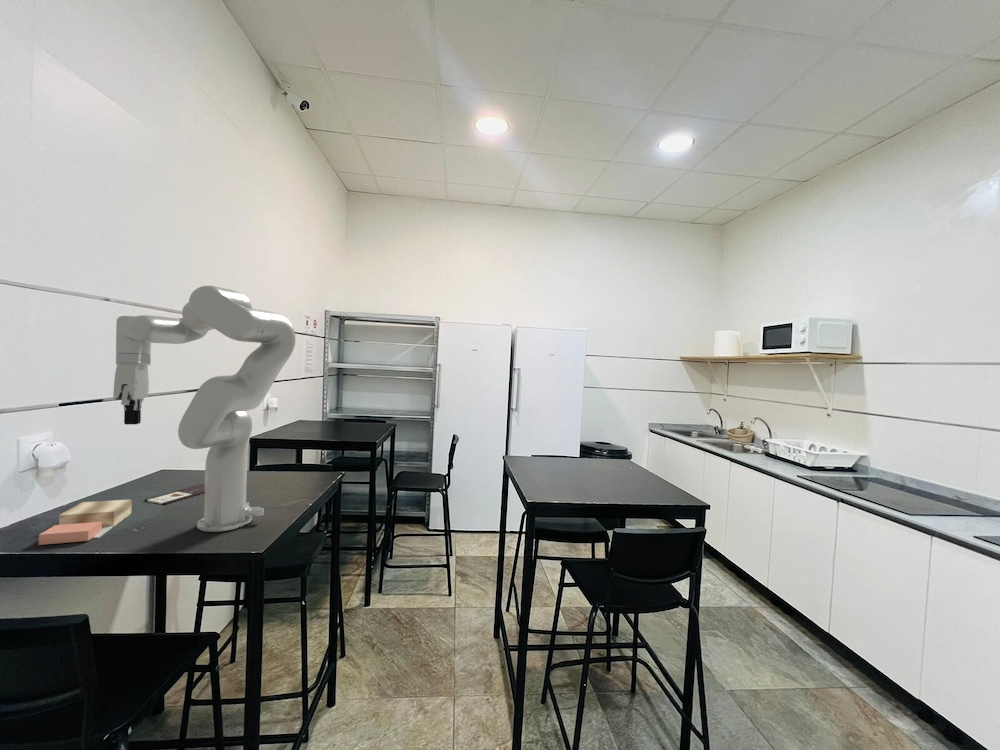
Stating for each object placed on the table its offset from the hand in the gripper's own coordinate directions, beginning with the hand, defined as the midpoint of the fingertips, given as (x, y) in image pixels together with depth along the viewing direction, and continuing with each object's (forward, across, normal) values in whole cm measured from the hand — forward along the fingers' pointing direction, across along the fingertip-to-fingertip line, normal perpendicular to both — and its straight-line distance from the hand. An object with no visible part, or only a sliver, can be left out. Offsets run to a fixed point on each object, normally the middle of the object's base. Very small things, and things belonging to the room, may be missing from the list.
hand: (132, 423), depth 122 cm
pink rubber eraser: (+22, +19, -5) cm, 30 cm away
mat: (+25, +16, -4) cm, 30 cm away
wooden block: (+25, +8, -4) cm, 27 cm away
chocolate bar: (+26, -13, +9) cm, 30 cm away
